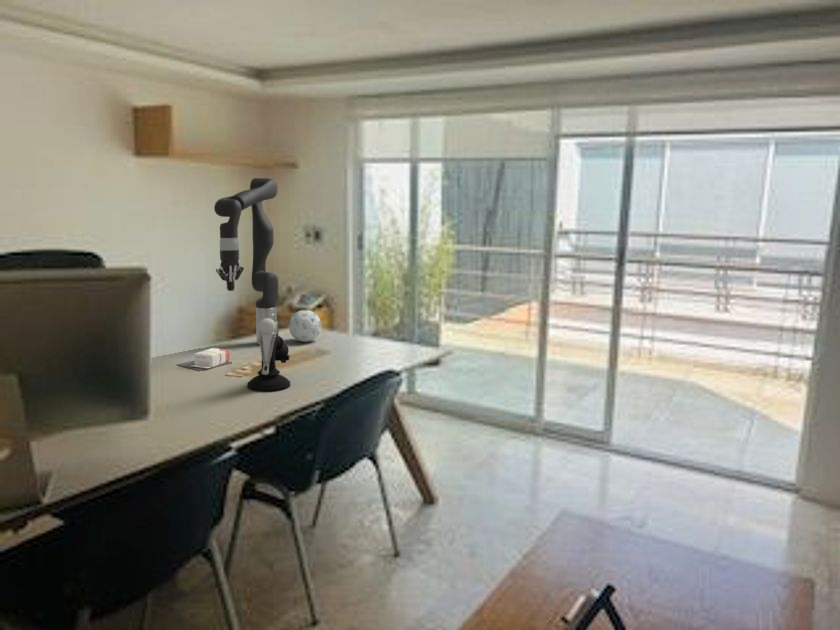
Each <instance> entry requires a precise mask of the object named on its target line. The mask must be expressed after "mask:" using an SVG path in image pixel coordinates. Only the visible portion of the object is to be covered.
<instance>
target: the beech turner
mask: <svg viewBox="0 0 840 630" xmlns="http://www.w3.org/2000/svg"><path fill="white" fill-rule="evenodd" d="M258 366H262V360H256V361H254V362H252V363H250V364H248V365H245V366H244V367H242V368H241V369H233V370H231V371H230V372H227V373H225V376H228V377H236V378H243V377H245V376H247V375H249V374H252V373H253V372H254V371H253V370H252V369H254V368H255V369H256V367H258Z"/></svg>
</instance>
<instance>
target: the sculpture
mask: <svg viewBox="0 0 840 630" xmlns="http://www.w3.org/2000/svg"><path fill="white" fill-rule="evenodd" d="M258 328H259V330H260V332H261V333H260V334H261V335H260V337H261V338H260V339H261V340H260V342H261V343H260V344H261V345H259V347H260V348H259V349H260V354H261V361H262V364H261V369H259V371H257V375H256V376H254V377H252V378H251V379H249V381H248V382H247V385H246V387H247V389H249V390H250V391H253V392H259V393H260V392H261V393H271V392H280V391H283V390H286V389H289V388H291V381H290V380H289V379H288V378H287V377H286V376H283V375H282V374H281V372H280V370H278V368H277V367H276V361H277V362H279V361H280V363H281V364H286V362H287V361H290V358H291V357H290V354H289V352H290V351H289V347H288V345H287V344H285V343H284V339H283V337H281V336H280V335H279V334H278V335H277V332H276V330H275V329H276V323H275V322H274V321H273V320H272V319H269V318H265V319H263V320H261V321H260V322H259V325H258Z"/></svg>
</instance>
